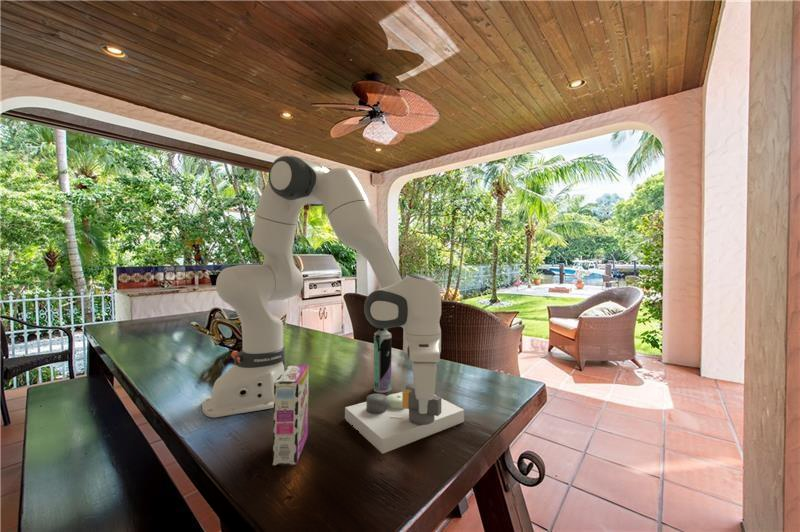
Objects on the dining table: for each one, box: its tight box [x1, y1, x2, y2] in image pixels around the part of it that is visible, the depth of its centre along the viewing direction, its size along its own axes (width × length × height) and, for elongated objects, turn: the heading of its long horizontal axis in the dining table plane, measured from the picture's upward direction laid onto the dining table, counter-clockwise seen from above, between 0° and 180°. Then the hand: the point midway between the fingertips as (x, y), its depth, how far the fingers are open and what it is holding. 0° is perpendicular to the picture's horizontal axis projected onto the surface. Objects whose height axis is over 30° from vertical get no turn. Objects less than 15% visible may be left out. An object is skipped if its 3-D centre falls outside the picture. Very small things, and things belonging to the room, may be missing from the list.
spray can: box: [373, 328, 393, 394], centre depth 101 cm, size 6×6×20 cm
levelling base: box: [344, 383, 465, 454], centre depth 81 cm, size 24×18×6 cm
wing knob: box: [401, 388, 442, 425], centre depth 76 cm, size 9×6×6 cm, turn 61°
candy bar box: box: [272, 365, 310, 467], centre depth 68 cm, size 11×5×16 cm, turn 5°
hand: (421, 402), depth 76 cm, fingers open, 8 cm apart
